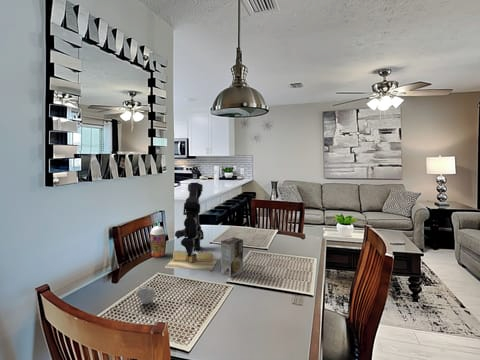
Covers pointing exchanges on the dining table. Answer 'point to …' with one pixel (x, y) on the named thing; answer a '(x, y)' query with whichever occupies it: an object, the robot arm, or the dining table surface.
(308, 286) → the dining table surface
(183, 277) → the dining table surface
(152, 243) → the smoothie
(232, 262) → the coffee box
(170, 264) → the mount board
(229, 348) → the dining table surface
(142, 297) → the grey head sculpture
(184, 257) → the hinge base
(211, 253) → the loose leaf
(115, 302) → the dining table surface
